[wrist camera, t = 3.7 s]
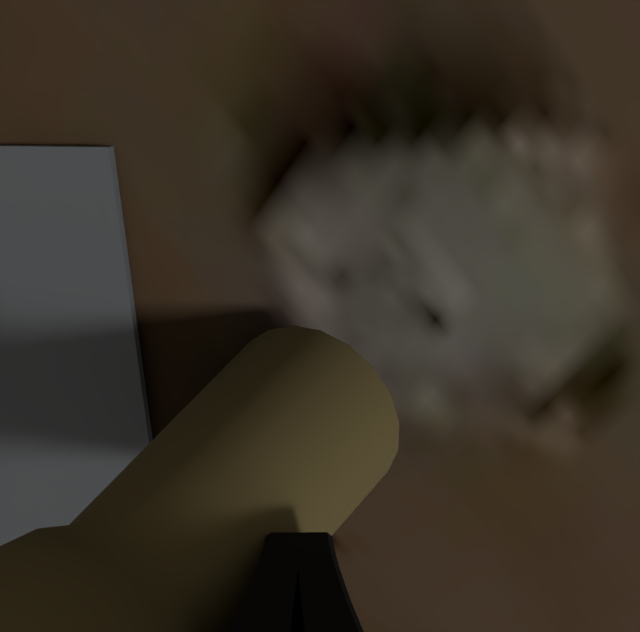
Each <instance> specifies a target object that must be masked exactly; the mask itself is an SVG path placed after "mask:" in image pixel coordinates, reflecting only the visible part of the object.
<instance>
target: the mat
mask: <svg viewBox="0 0 640 632" xmlns="http://www.w3.org/2000/svg"><path fill="white" fill-rule="evenodd" d="M152 440H153V438H152V430H151V423H150V415H149V408H148V401H147V393H146V386H145V378H144V371H143V363H142V356H141V348H140V341H139V333H138V326H137V318H136V311H135V303H134V296H133V288H132V281H131V273H130V266H129V258H128V251H127V243H126V236H125V228H124V221H123V213H122V206H121V198H120V191H119V183H118V176H117V169H116V161H115V154H114V146H52V145H0V546H1V545H3V544H6V543H8V542H10V541H12V540H14V539H16V538H18V537H20V536H23V535H25V534H27V533H29V532H31V531H33V530H35V529H38V528H46V527H55V526H65V525H69V524H70V523H71V522H72V521H73V520H74V519H75V518H76V517H77V516H78V515H79V514H80V513H81V512H82V511H83V510H84V509H85V508H86V507H87V506H88V505H89V504H90V503H91V502H92V501H93V500H94V499H95V498H96V497H97V496H98V495H99V494H100V493H101V492H102V491H103V490H104V489H105V488H106V487H107V486H108V485H109V484H110V483H111V482H112V481H113V480H114V479H115V478H116V477H117V476H118V475H119V474H120V473H121V472H122V471H123V470H124V469H125V468H126V467H127V466H128V465H129V464H130V462H131V461H132V460H133V459H134V458H135V457H136V456H137V455H138V454H139V453H140V452H141V451H142V450H143V449H144V448H145V447H146V446H147V445H148V444H149V443H150V442H151V441H152Z"/></svg>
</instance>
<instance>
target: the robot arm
mask: <svg viewBox="0 0 640 632" xmlns="http://www.w3.org/2000/svg"><path fill="white" fill-rule="evenodd" d="M232 632H363V629H362V627H361V625H360V622H359V620H358V617H357V615H356V612H355V610H354V608H353V605H352V603H351V600H350V597H349V595H348V592H347V589H346V586H345V583H344V580H343V577H342V574H341V571H340V568H339V565H338V561H337V558H336V554H335V549H334V545H333V539H332V536H331V535H330V534H329V533H328V532H279V533H270V534H268V535H267V536H266V537H265V542H264V546H263V550H262V554H261V557H260V561H259V564H258V567H257V570H256V573H255V576H254V578H253V581H252V584H251V587H250V589H249V592H248V594H247V597H246V599H245V601H244V604H243V606H242V609H241V611H240V613H239V616H238V618H237V620H236V623H235V625H234V627H233V629H232Z"/></svg>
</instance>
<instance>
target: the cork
mask: <svg viewBox="0 0 640 632" xmlns="http://www.w3.org/2000/svg"><path fill="white" fill-rule="evenodd" d="M398 444H399V420H398V417H397V414H396V410H395V407H394V404H393V400H392V397H391V394H390V392H389V391H388V389H387V388H386V386H385V385H384V383H383V382H382V380H381V379H380V377H379V376H378V374H377V372H376V371H375V369H374V368H373V367H372V366H371V365H370V364H369V363H368V362H367V361H366V360H365V359H364V358H362V357H361V356H360V355H359V354H358V353H357V352H356V351H355V350H354V349H352V348H351V347H350V346H349V345H348V344H346V343H344V342H342V341H340V340H338V339H336V338H334V337H332V336H330V335H328V334H326V333H324V332H322V331H319V330H314V329H308V328H303V327H297V326H288V327H282V328H276V329H270V330H267V331H266V332H264V333H263V334H261V335H259V336H258V337H256V338H255V339H253V340H251V341H250V342H249V343H248V344H247V345H246V346H245V347H244V348H243V349H242V350H241V351H240V352H239V353H238V354H237V355H236V356H235V357H234V358H233V359H232V360H231V361H230V362H229V363H228V364H227V365H226V366H225V367H224V368H223V369H222V370H221V371H220V372H219V373H218V374H217V375H216V376H215V377H214V378H213V379H212V380H211V381H210V382H209V383H208V384H207V385H206V386H205V387H204V388H203V389H202V390H201V391H200V392H199V394H198V395H197V396H196V397H195V398H194V399H193V400H192V401H191V402H190V403H189V404H188V405H187V406H186V407H185V408H184V409H183V410H182V411H181V412H180V413H179V414H178V415H177V416H176V417H175V418H174V419H173V420H172V421H171V422H170V423H169V424H168V425H167V426H166V427H165V428H164V429H163V430H162V431H161V432H160V433H159V434H158V435H157V436H156V437H155V438H154V439H153V440H152V441H151V442H150V443H149V444H148V445H147V446H146V447H145V448H144V449H143V450H142V451H141V452H140V453H139V454H138V455H137V456H136V457H135V458H134V459H133V460H132V461H131V462H130V464H129V465H128V466H127V467H126V468H125V469H124V470H123V471H122V472H121V473H120V474H119V475H118V476H117V477H116V478H115V479H114V480H113V481H112V482H111V483H110V484H109V485H108V486H107V487H106V488H105V489H104V490H103V491H102V492H101V493H100V494H99V495H98V496H97V497H96V498H95V499H94V500H93V501H92V502H91V503H90V504H89V505H88V506H87V507H86V508H85V509H84V510H83V511H82V512H81V513H80V514H79V515H78V516H77V517H76V518H75V519H74V520H73V521H72V522H71V523H70V524H69V525H65V526H55V527H46V528H38V529H35V530H33V531H31V532H29V533H27V534H25V535H23V536H20V537H18V538H16V539H14V540H12V541H10V542H8V543H6V544H3V545H1V546H0V632H232V629H233V627H234V625H235V623H236V620H237V618H238V616H239V613H240V611H241V609H242V606H243V604H244V601H245V599H246V597H247V594H248V592H249V589H250V587H251V584H252V581H253V578H254V576H255V573H256V570H257V567H258V564H259V561H260V557H261V554H262V550H263V546H264V542H265V537H266V536H267V535H268V534H270V533H279V532H328V533H329V534H330V535H331V536H332V535H333V534H334V533H335V531H336V530H337V529H338V528H339V527H340V526H341V525H342V523H343V522H344V521H345V520H346V519H347V518H348V517H349V515H350V514H351V513H352V512H353V511H354V510H355V509H356V507H357V506H358V505H359V504H360V503H361V502H362V501H363V499H364V498H365V497H366V496H367V495H368V494H369V492H370V491H371V490H372V489H373V488H374V487H375V486H376V484H377V483H378V482H379V481H380V480H381V479H382V478H383V476H384V475H385V474H386V473H387V472H388V471H389V468H390V466H391V464H392V462H393V460H394V458H395V455H396V453H397V451H398Z"/></svg>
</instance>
